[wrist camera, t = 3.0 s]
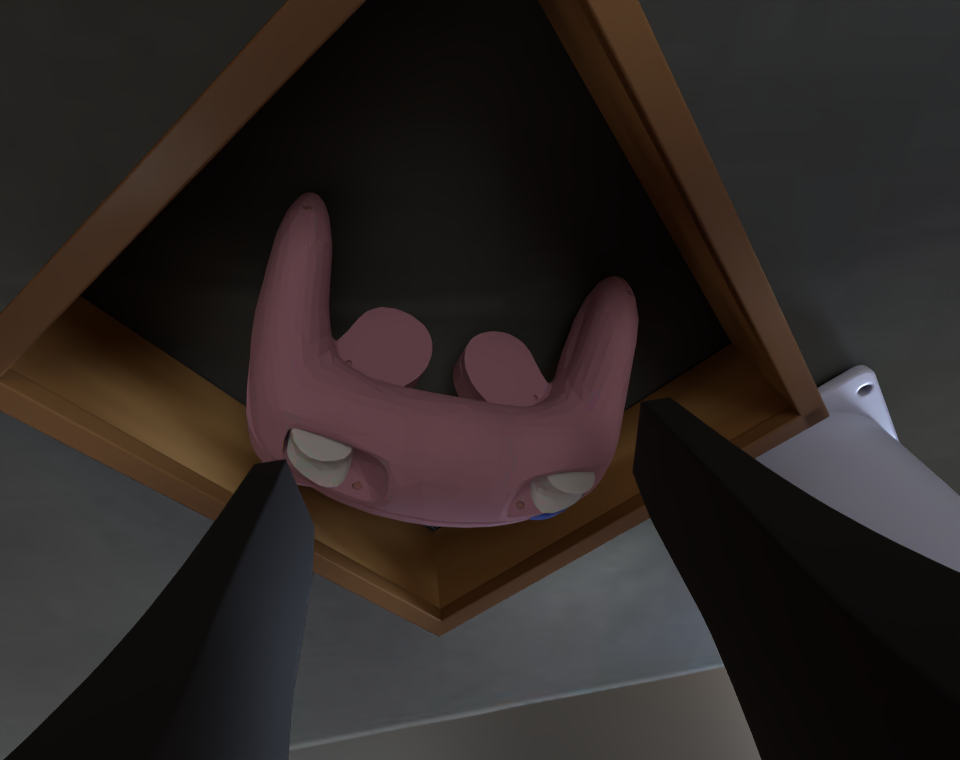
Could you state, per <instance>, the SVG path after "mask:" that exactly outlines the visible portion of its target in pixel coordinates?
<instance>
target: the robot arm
mask: <svg viewBox="0 0 960 760" xmlns="http://www.w3.org/2000/svg"><path fill="white" fill-rule="evenodd" d="M817 389H818V391H819V393H820V395H821V397H822V399H823V402H824V404H825V406H826V408H827V410H828V412H829V415H830V416H829V417H828V418H826V419H824V420H823V421H821V422H819V423H817V424H815V425H814V426H812V427H810V428H808V429H807V430H805V431H803V432H801V433H799V434H798V435H796V436H794V437H792V438H791V439H789V440H787V441H785V442H783V443H782V444H780V445H778V446H776V447H775V448H773V449H771V450H769V451H767V452H766V453H764V454H762V455H760V456H759V457H757V458H755V459H754V458H753V457H751V456H750V455H748V454H747V453H746V452H744V451H743V450H741V449H740V448H739V447H737V446H736V445H734V444H733V443H732V442H730V441H729V440H727V439H726V438H725V437H723V436H722V435H721V434H719V433H718V432H716V431H715V430H714V429H712V428H711V427H710V426H708V425H707V424H706V423H704V422H703V421H702V420H700V419H699V418H698V417H696V416H695V415H694V414H692V413H691V412H690V411H688V410H687V409H685V408H684V407H683V406H681V405H680V404H679V403H677V402H676V401H674V400H673V399H672V398H670V397H667V398H661V399H654V400H648V401H642V402H641V404H640V412H639V421H638V429H637V437H636V446H635V454H634V463H633V471H632V472H633V475H634V477H635V480H636V483H637V485H638V488H639V491H640V494H641V496H642V499H643V501H644V504H645V506H646V509H647V511H648V514H649V516H650V518H651V520H652V522H653V524H654V526H655V528H656V530H657V532H658V533H659V535H660V537H661V539H662V541H663V543H664V545H665V547H666V549H667V550H668V552H669V554H670V556H671V558H672V560H673V562H674V564H675V565H676V567H677V569H678V571H679V573H680V575H681V577H682V578H683V580H684V582H685V584H686V586H687V588H688V590H689V591H690V593H691V595H692V597H693V599H694V601H695V603H696V604H697V606H698V608H699V610H700V612H701V614H702V616H703V618H704V620H705V622H706V624H707V626H708V628H709V630H710V633H711V635H712V637H713V639H714V642H715V644H716V647H717V649H718V651H719V654H720V656H721V658H722V661H723V663H724V666H725V668H726V670H727V673H728V675H729V677H730V680H731V682H732V685H733V687H734V690H735V692H736V695H737V697H738V700H739V702H740V705H741V707H742V710H743V712H744V715H745V718H746V720H747V723H748V725H749V728H750V730H751V733H752V735H753V738H754V740H755V743H756V746H757V749H758V751H759V754H760V757H761V759H762V760H960V496H959V495H958V494H957V493H956V492H955V491H954V490H952V489H951V488H950V487H949V486H948V485H947V484H946V483H944V482H943V481H942V480H941V479H940V478H939V477H938V476H937V475H935V474H934V473H933V472H932V471H931V470H930V469H929V468H928V467H926V466H925V465H924V464H923V463H922V462H921V461H920V460H919V459H917V458H916V457H915V456H914V455H913V454H912V453H911V452H909V451H908V450H907V449H906V448H905V447H904V446H903V445H902V444H900V443H899V440H898V437H897V435H896V432H895V429H894V426H893V423H892V421H891V418H890V415H889V412H888V409H887V406H886V404H885V401H884V398H883V395H882V392H881V389H880V387H879V384H878V381H877V378H876V375H875V373H874V372H873V371H872V370H871V369H870V368H868V367H867V366H865V365H858V366H855V367H852V368H850V369H849V370H847V371H845V372H843V373H842V374H840V375H838V376H837V377H835V378H833V379H831V380H830V381H828V382H826V383H825V384H823V385H821V386H819V387H818V388H817ZM313 555H314V524H313V521H312V519H311V517H310V514H309V512H308V510H307V507H306V505H305V503H304V500H303V498H302V496H301V493H300V491H299V489H298V486H297V484H296V481H295V479H294V477H293V474H292V472H291V470H290V467H289V465H288V463H287V460H286V459H282V460H276V461H270V462H263V463H257V464H254V465H253V467H252V468H251V469H250V471H249V472H248V474H247V475H246V476H245V478H244V479H243V481H242V482H241V484H240V485H239V487H238V488H237V489H236V491H235V492H234V494H233V495H232V497H231V498H230V500H229V501H228V503H227V504H226V506H225V507H224V508H223V510H222V511H221V513H220V514H219V516H218V517H217V519H216V520H215V521H214V523H213V524H212V526H211V527H210V529H209V530H208V531H207V533H206V534H205V535H204V537H203V538H202V540H201V541H200V542H199V544H198V545H197V546H196V548H195V549H194V551H193V552H192V553H191V555H190V556H189V558H188V559H187V560H186V562H185V563H184V564H183V566H182V567H181V568H180V570H179V571H178V572H177V573H176V575H175V576H174V577H173V578H172V580H171V581H170V582H169V584H168V585H167V586H166V587H165V589H164V590H163V591H162V592H161V594H160V595H159V596H158V597H157V599H156V600H155V601H154V603H153V604H152V605H151V606H150V608H149V609H148V610H147V611H146V612H145V614H144V615H143V616H142V617H141V618H140V620H139V621H138V622H137V623H136V624H135V626H134V627H133V628H132V629H131V630H130V631H129V633H128V634H127V635H126V636H125V637H124V638H123V639H122V641H121V642H120V643H119V644H118V645H117V646H116V647H115V648H114V649H113V651H112V652H111V653H110V654H109V655H108V656H107V657H106V658H105V659H104V660H103V662H102V663H101V664H100V665H99V666H98V667H97V668H96V669H95V670H94V671H93V672H92V673H91V674H90V675H89V677H88V678H87V679H86V680H85V681H84V682H83V683H82V684H81V685H80V686H79V687H78V688H77V689H76V690H75V691H74V692H73V693H72V694H71V695H70V696H69V697H68V698H67V699H66V700H65V701H64V702H63V703H62V704H61V705H60V706H59V707H58V708H57V709H56V710H55V711H54V712H53V713H52V714H51V715H50V716H49V717H48V718H47V719H46V720H45V721H44V722H43V723H42V724H41V725H40V726H39V727H38V728H37V729H36V730H35V731H34V732H33V733H32V734H31V735H30V736H28V737H27V738H26V739H25V740H24V741H23V742H22V743H21V744H20V745H19V746H18V747H17V748H16V749H15V750H14V751H12V752H11V753H10V754H9V755H8V756H7V757H6V758H5V759H4V760H288V755H289V742H290V727H291V713H292V704H293V696H294V688H295V682H296V676H297V669H298V663H299V657H300V651H301V645H302V639H303V633H304V626H305V620H306V614H307V608H308V601H309V595H310V588H311V582H312V575H313Z"/></svg>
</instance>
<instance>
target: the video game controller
mask: <svg viewBox="0 0 960 760" xmlns="http://www.w3.org/2000/svg"><path fill="white" fill-rule="evenodd" d="M331 264H332V237H331V227H330V219H329V215H328V211H327V208H326V205H325V203H324V202H323V200H322V199H321V198H320V196H319V195H317V194H315V193H309V192H308V193H305V194H302V195H301V196H300V197H299V198H298V199H297V200H296V201H295V202H294V203H293V204H292V205H291V206H290V208H289V209H288V210H287V212H286V214H285V216H284V218H283V220H282V222H281V224H280V226H279V229H278V231H277V233H276V236H275V239H274V243H273V247H272V250H271V254H270V257H269V260H268V263H267V268H266V272H265V276H264V280H263V284H262V287H261V291H260V295H259V298H258V302H257V306H256V309H255V315H254V322H253V329H252V335H251V347H250V362H249V373H248V383H247V404H246V416H247V425H248V432H249V437H250V442H251V445H252V447H253V449H254V451H255V453H256V454H257V455H258V457H259V458H260V459H261V461H262V462H270V461H276V460H282V459H286V460H287V463H288V465H289V467H290V470H291V472H292V474H293V477H294V479H295V481H296V484H297V485H302V486H309V487H312V488H314V489H316V490H317V491H319V492H321V493H322V494H324V495H326V496H328V497H329V498H332V499H334V500H336V501H339V502H341V503H343V504H346V505H348V506H351V507H354V508H356V509H359V510H362V511H364V512H367V513H370V514H374V515H378V516H382V517H386V518H390V519H395V520H399V521H403V522H409V523H415V524H422V525H428V526H439V527H464V528H469V527H491V526H499V525H506V524H512V523H517V522H521V521H525V520H528V519H531V520H544V519H548V518H551V517H554V516H556V515H558V514H560V513H562V512H563V511H565V510H566V509H567V508H568V507H569V506H571V505H573V504H575V503H576V502H577V501H578V500H580V499H582V498H584V497H585V496H586V495H588V494H589V493H590V492H591V491H592V490H593V489H594V488H595V487H596V486H597V484H598V483H599V482H600V481H601V479H602V477H603V475H604V474H605V472H606V470H607V468H608V467H609V465H610V463H611V461H612V460H613V458H614V454H615V451H616V447H617V444H618V440H619V436H620V430H621V425H622V419H623V413H624V408H625V402H626V397H627V391H628V385H629V380H630V374H631V369H632V364H633V358H634V353H635V347H636V341H637V332H638V322H639V317H638V311H637V305H636V299H635V296H634V294H633V291H632V289H631V287H630V286H629V284H628V283H627V282H626V281H625V279H623V278H621V277H619V276H611V277H607V278H605V279H603V280H602V281H600V282H598V283H597V284H596V286H595V288H594V289H593V290H592V291H591V292H590V293H589V295H588V296H587V297H586V298H585V300H584V302H583V304H582V306H581V307H580V309H579V311H578V313H577V315H576V317H575V318H574V321H573V323H572V326H571V329H570V332H569V334H568V337H567V340H566V342H565V345H564V348H563V351H562V353H561V356H560V359H559V362H558V366H557V369H556V373H555V376H554V379H553V380H552V381H551V382H550V383H548V382H547V381H546V380H545V378H544V377H543V375H542V374H541V372H540V370H539V368H538V366H537V364H536V362H535V360H534V358H533V356H532V354H531V352H530V351H529V350H528V348H527V347H526V345H525V344H524V343H523V342H521V341H520V340H519V339H517V338H516V337H514V336H512V335H510V334H508V333H503V332H497V331H491V332H484V333H480V334H478V335H476V336H475V337H473V338H472V339H471V340H470V342H469V343H468V345H467V346H466V348H465V349H464V351H463V352H462V354H461V355H460V357H459V358H458V360H457V362H456V363H455V366H454V369H453V382H454V386H455V389H456V391H457V394H458V396H459V397H456V396H450V395H445V394H439V393H433V392H428V391H423V390H418V389H413V387H414V386H415V384H416V383H417V381H418V380H419V378H420V377H421V375H422V374H423V372H424V371H425V370H426V368H427V366H428V364H429V361H430V359H431V356H432V339H431V337H430V334H429V332H428V331H427V329H426V328H425V326H424V325H423V324H422V323H421V322H420V321H418V320H417V319H416V318H414V317H413V316H412V315H410V314H408V313H406V312H403V311H401V310H398V309H395V308H386V307H379V308H374V309H372V310H369V311H367V312H365V313H364V314H363V315H362V316H361V317H360V318H359V319H357V320H356V322H355V323H354V324H353V325H352V326H351V328H350V329H349V330H348V331H347V332H346V333H345V334H344V335H343V336H342V337H340V338H339V339H338V340H334V339H333V337H332V334H331V326H330V312H329V297H330V281H331Z"/></svg>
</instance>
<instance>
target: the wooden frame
mask: <svg viewBox="0 0 960 760" xmlns="http://www.w3.org/2000/svg"><path fill="white" fill-rule="evenodd" d="M365 1H366V0H287V1H286V2H285V3H284V4H283V6H282V7H281V8H280V9H279V10H278V11H277V12H276V13H275V14H274V15H273V16H272V18H271V19H270V20H269V21H268V22H267V23H266V24H265V25H264V26H263V27H262V28H261V30H260V31H259V32H258V33H257V34H256V35H255V36H254V37H253V38H252V39H251V41H250V42H249V43H248V44H247V45H246V46H245V47H244V48H243V49H242V50H241V51H240V53H239V54H238V55H237V56H236V57H235V58H234V59H233V60H232V61H231V62H230V63H229V65H228V66H227V67H226V68H225V69H224V70H223V71H222V72H221V73H220V74H219V75H218V77H217V78H216V79H215V80H214V81H213V82H212V83H211V84H210V85H209V86H208V87H207V89H206V90H205V91H204V92H203V93H202V94H201V95H200V96H199V97H198V98H197V99H196V101H195V102H194V103H193V104H192V105H191V106H190V107H189V108H188V109H187V110H186V111H185V113H184V114H183V115H182V116H181V117H180V118H179V119H178V120H177V121H176V122H175V124H174V125H173V126H172V127H171V128H170V129H169V130H168V131H167V132H166V133H165V134H164V136H163V137H162V138H161V139H160V140H159V141H158V142H157V143H156V144H155V145H154V146H153V148H152V149H151V150H150V151H149V152H148V153H147V154H146V155H145V156H144V157H143V158H142V160H141V161H140V162H139V163H138V164H137V165H136V166H135V167H134V168H133V169H132V170H131V172H130V173H129V174H128V175H127V176H126V177H125V178H124V179H123V180H122V181H121V182H120V184H119V185H118V186H117V187H116V188H115V189H114V190H113V191H112V192H111V193H110V195H109V196H108V197H107V198H106V199H105V200H104V201H103V202H102V203H101V204H100V205H99V207H98V208H97V209H96V210H95V211H94V212H93V213H92V214H91V215H90V216H89V217H88V219H87V220H86V221H85V222H84V223H83V224H82V225H81V226H80V227H79V228H78V229H77V231H76V232H75V233H74V234H73V235H72V236H71V237H70V238H69V239H68V240H67V241H66V243H65V244H64V245H63V246H62V247H61V248H60V249H59V250H58V251H57V252H56V253H55V255H54V256H53V257H52V258H51V259H50V260H49V261H48V262H47V263H46V264H45V265H44V267H43V268H42V269H41V270H40V271H39V272H38V273H37V274H36V275H35V276H34V278H33V279H32V280H31V281H30V282H29V283H28V284H27V285H26V286H25V287H24V288H23V290H22V291H21V292H20V293H19V294H18V295H17V296H16V297H15V298H14V299H13V300H12V302H11V303H10V304H9V305H8V306H7V307H6V308H5V309H4V310H3V311H2V312H1V314H0V411H2V412H4V413H6V414H8V415H10V416H12V417H14V418H16V419H18V420H19V421H21V422H23V423H25V424H27V425H29V426H31V427H33V428H35V429H37V430H39V431H41V432H43V433H45V434H47V435H49V436H51V437H52V438H54V439H56V440H58V441H60V442H62V443H64V444H66V445H68V446H70V447H72V448H74V449H76V450H78V451H80V452H82V453H84V454H85V455H87V456H89V457H91V458H93V459H95V460H97V461H99V462H101V463H103V464H105V465H107V466H109V467H111V468H113V469H115V470H117V471H119V472H120V473H122V474H124V475H126V476H128V477H130V478H132V479H134V480H136V481H138V482H140V483H142V484H144V485H146V486H148V487H150V488H152V489H153V490H155V491H157V492H159V493H161V494H163V495H165V496H167V497H169V498H171V499H173V500H175V501H177V502H179V503H181V504H183V505H185V506H186V507H188V508H190V509H192V510H194V511H196V512H198V513H200V514H202V515H204V516H206V517H208V518H210V519H212V520H214V521H215V520H216V519H217V517H218V516H219V514H220V513H221V511H222V510H223V508H224V507H225V506H226V504H227V503H228V501H229V500H230V498H231V497H232V495H233V494H234V492H235V491H236V489H237V488H238V487H239V485H240V484H241V482H242V481H243V479H244V478H245V476H246V475H247V474H248V472H249V471H250V469H251V468H252V467H253V465H254V464H257V463H263V462H262V461H261V459H260V458H259V457H258V455H257V454H256V453H255V451H254V449H253V447H252V445H251V442H250V437H249V432H248V425H247V416H246V406H244V405H243V404H241V403H240V402H238V401H237V400H235V399H234V398H232V397H231V396H229V395H228V394H226V393H225V392H223V391H222V390H220V389H219V388H218V387H216V386H215V385H213V384H212V383H210V382H209V381H207V380H206V379H204V378H203V377H201V376H200V375H198V374H197V373H195V372H194V371H192V370H191V369H189V368H188V367H186V366H185V365H183V364H182V363H180V362H179V361H177V360H176V359H174V358H173V357H171V356H170V355H168V354H167V353H165V352H164V351H162V350H161V349H159V348H158V347H156V346H155V345H153V344H152V343H150V342H149V341H147V340H146V339H144V338H143V337H141V336H140V335H138V334H137V333H135V332H134V331H132V330H131V329H130V328H128V327H127V326H125V325H124V324H122V323H121V322H119V321H118V320H116V319H115V318H113V317H112V316H110V315H109V314H107V313H106V312H104V311H103V310H101V309H100V308H98V307H97V306H95V305H94V304H92V303H91V302H89V301H88V300H86V299H85V298H83V297H82V296H80V295H81V294H82V293H83V292H84V291H85V290H86V289H87V288H88V287H89V286H90V285H91V284H92V283H93V282H94V281H95V280H96V279H97V278H98V276H99V275H100V274H101V273H102V272H103V271H104V270H105V269H106V268H107V267H108V266H109V265H110V264H111V263H112V262H113V261H114V260H115V259H116V258H117V257H118V256H119V255H120V254H121V253H122V252H123V251H124V250H125V249H126V248H127V247H128V246H129V244H130V243H131V242H132V241H133V240H134V239H135V238H136V237H137V236H138V235H139V234H140V233H141V232H142V231H143V230H144V229H145V228H146V227H147V226H148V225H149V224H150V223H151V222H152V221H153V220H154V219H155V218H156V217H157V216H158V215H159V213H160V212H161V211H162V210H163V209H164V208H165V207H166V206H167V205H168V204H169V203H170V202H171V201H172V200H173V199H174V198H175V197H176V196H177V195H178V194H179V193H180V192H181V191H182V190H183V189H184V188H185V187H186V186H187V185H188V184H189V183H190V181H191V180H192V179H193V178H194V177H195V176H196V175H197V174H198V173H199V172H200V171H201V170H202V169H203V168H204V167H205V166H206V165H207V164H208V163H209V162H210V161H211V160H212V159H213V158H214V157H215V156H216V155H217V154H218V153H219V152H220V150H221V149H222V148H223V147H224V146H225V145H226V144H227V143H228V142H229V141H230V140H231V139H232V138H233V137H234V136H235V135H236V134H237V133H238V132H239V131H240V130H241V129H242V128H243V127H244V126H245V125H246V124H247V123H248V122H249V121H250V120H251V118H252V117H253V116H254V115H255V114H256V113H257V112H258V111H259V110H260V109H261V108H262V107H263V106H264V105H265V104H266V103H267V102H268V101H269V100H270V99H271V98H272V97H273V96H274V95H275V94H276V93H277V92H278V91H279V90H280V89H281V88H282V86H283V85H284V84H285V83H286V82H287V81H288V80H289V79H290V78H291V77H292V76H293V75H294V74H295V73H296V72H297V71H298V70H299V69H300V68H301V67H302V66H303V65H304V64H305V63H306V62H307V61H308V60H309V59H310V58H311V57H312V55H313V54H314V53H315V52H316V51H317V50H318V49H319V48H320V47H321V46H322V45H323V44H324V43H325V42H326V41H327V40H328V39H329V38H330V37H331V36H332V35H333V34H334V33H335V32H336V31H337V30H338V29H339V28H340V27H341V26H342V25H343V23H344V22H345V21H346V20H347V19H348V18H349V17H350V16H351V15H352V14H353V13H354V12H355V11H356V10H357V9H358V8H359V7H360V6H361V5H362V4H363V3H364V2H365ZM538 2H539V4H540V5H541V7H542V9H543V11H544V13H545V14H546V16H547V18H548V20H549V21H550V23H551V25H552V27H553V28H554V30H555V32H556V34H557V35H558V37H559V39H560V41H561V43H562V44H563V46H564V48H565V50H566V51H567V53H568V55H569V57H570V58H571V60H572V62H573V64H574V66H575V67H576V69H577V71H578V73H579V74H580V76H581V78H582V80H583V81H584V83H585V85H586V87H587V89H588V90H589V92H590V94H591V96H592V97H593V99H594V101H595V103H596V104H597V106H598V108H599V110H600V111H601V113H602V115H603V117H604V119H605V120H606V122H607V124H608V126H609V127H610V129H611V131H612V133H613V134H614V136H615V138H616V140H617V142H618V143H619V145H620V147H621V149H622V150H623V152H624V154H625V156H626V157H627V159H628V161H629V163H630V165H631V166H632V168H633V170H634V172H635V173H636V175H637V177H638V179H639V180H640V182H641V184H642V186H643V187H644V189H645V191H646V193H647V195H648V196H649V198H650V200H651V202H652V203H653V205H654V207H655V209H656V210H657V212H658V214H659V216H660V218H661V219H662V221H663V223H664V225H665V226H666V228H667V230H668V232H669V233H670V235H671V237H672V239H673V241H674V242H675V244H676V246H677V248H678V249H679V251H680V253H681V255H682V256H683V258H684V260H685V262H686V264H687V265H688V267H689V269H690V271H691V272H692V274H693V276H694V278H695V279H696V281H697V283H698V285H699V286H700V288H701V290H702V292H703V294H704V295H705V297H706V299H707V301H708V302H709V304H710V306H711V308H712V309H713V311H714V313H715V315H716V317H717V318H718V320H719V322H720V324H721V325H722V327H723V329H724V331H725V332H726V334H727V336H728V338H729V340H730V341H731V344H729V345H728V346H726V347H725V348H723V349H721V350H720V351H718V352H717V353H715V354H714V355H712V356H710V357H709V358H707V359H706V360H704V361H702V362H701V363H699V364H698V365H696V366H695V367H693V368H691V369H690V370H688V371H687V372H685V373H684V374H682V375H680V376H679V377H677V378H676V379H674V380H673V381H671V382H669V383H668V384H666V385H665V386H663V387H662V388H660V389H658V390H657V391H655V392H654V393H652V394H650V395H649V396H647V397H646V398H644V399H643V400H641V401H639V402H638V403H636V404H635V405H633V406H632V407H630V408H628V409H627V410H625V411H624V413H623V419H622V425H621V430H620V436H619V440H618V444H617V447H616V451H615V454H614V458H613V460H612V461H611V463H610V465H609V467H608V468H607V470H606V472H605V474H604V475H603V477H602V479H601V481H600V482H599V483H598V484H597V486H596V487H595V488H594V489H593V490H592V491H591V492H590V493H589V494H588V495H586V496H585V497H584V498H582V499H580V500H578V501H577V502H576V503H575V504H573V505H571V506H569V507H568V508H567V509H566V510H565V511H563V512H562V513H560V514H558V515H556V516H554V517H551V518H548V519H544V520H531V519H528V520H525V521H521V522H517V523H512V524H506V525H499V526H491V527H469V528H464V527H441V528H439V529H438V530H436V531H435V532H432V531H431V530H429V529H428V528H426V527H425V526H423V525H422V524H415V523H409V522H403V521H399V520H395V519H390V518H386V517H382V516H378V515H374V514H370V513H367V512H364V511H362V510H359V509H356V508H354V507H351V506H348V505H346V504H343V503H341V502H339V501H336V500H334V499H332V498H329V497H328V496H326V495H324V494H322V493H321V492H319V491H317V490H316V489H314V488H312V487H309V486H302V485H297V486H298V489H299V491H300V493H301V496H302V498H303V500H304V503H305V505H306V507H307V510H308V512H309V514H310V517H311V519H312V521H313V524H314V555H313V572H315V573H317V574H318V575H320V576H322V577H324V578H326V579H328V580H330V581H332V582H334V583H336V584H338V585H340V586H342V587H344V588H346V589H348V590H350V591H351V592H353V593H355V594H357V595H359V596H361V597H363V598H365V599H367V600H369V601H371V602H373V603H375V604H377V605H379V606H381V607H383V608H385V609H386V610H388V611H390V612H392V613H394V614H396V615H398V616H400V617H402V618H404V619H406V620H408V621H410V622H412V623H414V624H416V625H418V626H419V627H421V628H423V629H425V630H427V631H429V632H431V633H433V634H435V635H437V636H441V635H443V634H445V633H446V632H448V631H450V630H452V629H453V628H455V627H457V626H459V625H460V624H462V623H464V622H466V621H467V620H469V619H471V618H473V617H475V616H476V615H478V614H480V613H482V612H483V611H485V610H487V609H489V608H491V607H492V606H494V605H496V604H498V603H499V602H501V601H503V600H505V599H507V598H508V597H510V596H512V595H514V594H515V593H517V592H519V591H521V590H523V589H524V588H526V587H528V586H530V585H531V584H533V583H535V582H537V581H538V580H540V579H542V578H544V577H546V576H547V575H549V574H551V573H553V572H554V571H556V570H558V569H560V568H562V567H563V566H565V565H567V564H569V563H570V562H572V561H574V560H576V559H578V558H579V557H581V556H583V555H585V554H586V553H588V552H590V551H592V550H594V549H595V548H597V547H599V546H601V545H602V544H604V543H606V542H608V541H609V540H611V539H613V538H615V537H617V536H618V535H620V534H622V533H624V532H625V531H627V530H629V529H631V528H633V527H634V526H636V525H638V524H640V523H641V522H643V521H645V520H647V519H649V518H650V516H649V514H648V511H647V509H646V506H645V504H644V501H643V499H642V496H641V494H640V491H639V488H638V485H637V483H636V480H635V477H634V475H633V472H632V471H633V463H634V454H635V446H636V437H637V429H638V421H639V412H640V404H641V402H642V401H648V400H654V399H661V398H667V397H670V398H672V399H673V400H674V401H676V402H677V403H679V404H680V405H681V406H683V407H684V408H685V409H687V410H688V411H690V412H691V413H692V414H694V415H695V416H696V417H698V418H699V419H700V420H702V421H703V422H704V423H706V424H707V425H708V426H710V427H711V428H712V429H714V430H715V431H716V432H718V433H719V434H721V435H722V436H723V437H725V438H726V439H727V440H729V441H730V442H732V443H733V444H734V445H736V446H737V447H739V448H740V449H741V450H743V451H744V452H746V453H747V454H748V455H750V456H751V457H753V458H754V459H755V458H757V457H759V456H760V455H762V454H764V453H766V452H767V451H769V450H771V449H773V448H775V447H776V446H778V445H780V444H782V443H783V442H785V441H787V440H789V439H791V438H792V437H794V436H796V435H798V434H799V433H801V432H803V431H805V430H807V429H808V428H810V427H812V426H814V425H815V424H817V423H819V422H821V421H823V420H824V419H826V418H828V417H829V416H830V415H829V412H828V410H827V408H826V406H825V404H824V402H823V399H822V397H821V395H820V393H819V391H818V389H817V386H816V384H815V382H814V380H813V378H812V376H811V373H810V371H809V369H808V367H807V365H806V363H805V360H804V358H803V356H802V354H801V352H800V350H799V347H798V345H797V343H796V341H795V339H794V337H793V334H792V332H791V330H790V328H789V326H788V324H787V321H786V319H785V317H784V315H783V313H782V311H781V308H780V306H779V304H778V302H777V300H776V298H775V295H774V293H773V291H772V289H771V287H770V285H769V282H768V280H767V278H766V276H765V274H764V272H763V270H762V267H761V265H760V263H759V261H758V259H757V257H756V254H755V252H754V250H753V248H752V246H751V244H750V241H749V239H748V237H747V235H746V233H745V231H744V228H743V226H742V224H741V222H740V220H739V218H738V215H737V213H736V211H735V209H734V207H733V205H732V202H731V200H730V198H729V196H728V194H727V192H726V189H725V187H724V185H723V183H722V181H721V179H720V176H719V174H718V172H717V170H716V168H715V166H714V163H713V161H712V159H711V157H710V155H709V153H708V150H707V148H706V146H705V144H704V142H703V140H702V137H701V135H700V133H699V131H698V129H697V127H696V125H695V122H694V120H693V118H692V116H691V114H690V112H689V109H688V107H687V105H686V103H685V101H684V99H683V96H682V94H681V92H680V90H679V88H678V86H677V83H676V81H675V79H674V77H673V75H672V73H671V70H670V68H669V66H668V64H667V62H666V60H665V57H664V55H663V53H662V51H661V49H660V47H659V44H658V42H657V40H656V38H655V36H654V34H653V31H652V29H651V27H650V25H649V23H648V21H647V18H646V16H645V14H644V12H643V10H642V8H641V5H640V3H639V1H638V0H538Z"/></svg>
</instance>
